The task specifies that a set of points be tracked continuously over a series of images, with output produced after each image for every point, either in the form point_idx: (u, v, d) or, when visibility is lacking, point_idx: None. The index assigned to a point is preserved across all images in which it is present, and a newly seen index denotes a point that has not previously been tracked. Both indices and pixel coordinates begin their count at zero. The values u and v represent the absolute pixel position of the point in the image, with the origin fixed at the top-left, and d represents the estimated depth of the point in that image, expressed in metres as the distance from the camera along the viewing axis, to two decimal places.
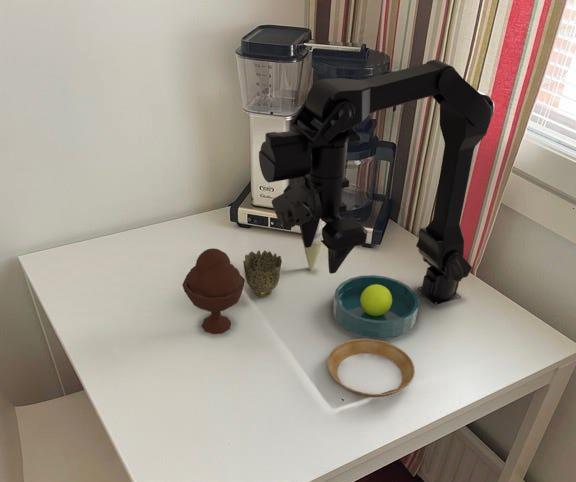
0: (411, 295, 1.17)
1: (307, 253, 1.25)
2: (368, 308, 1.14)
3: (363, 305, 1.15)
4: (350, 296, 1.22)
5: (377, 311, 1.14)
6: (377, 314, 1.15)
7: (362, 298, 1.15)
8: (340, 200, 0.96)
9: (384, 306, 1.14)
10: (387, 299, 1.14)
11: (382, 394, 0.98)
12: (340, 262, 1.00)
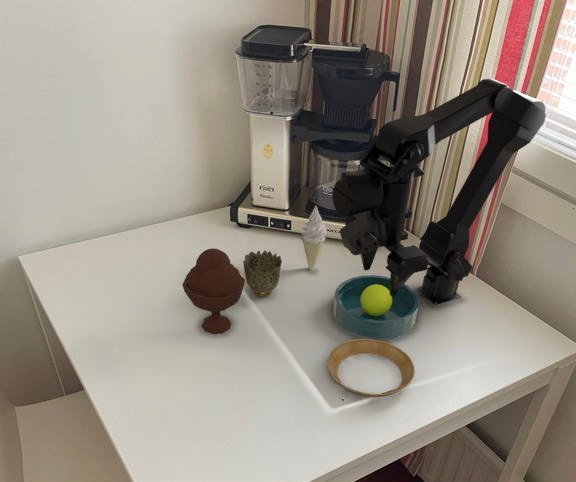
0: (411, 295, 1.17)
1: (307, 253, 1.25)
2: (368, 308, 1.14)
3: (363, 305, 1.15)
4: (350, 296, 1.22)
5: (377, 311, 1.14)
6: (377, 314, 1.15)
7: (362, 298, 1.15)
8: (403, 229, 1.04)
9: (384, 306, 1.14)
10: (387, 299, 1.14)
11: (382, 394, 0.98)
12: (401, 285, 1.08)
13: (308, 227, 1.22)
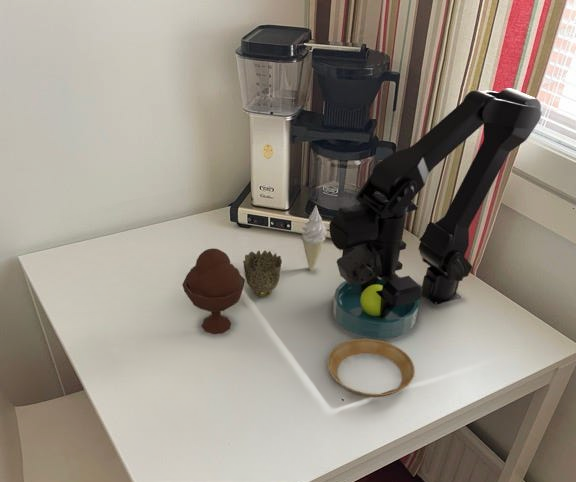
0: None
1: (307, 253, 1.25)
2: (368, 308, 1.14)
3: (363, 305, 1.15)
4: (350, 296, 1.22)
5: (377, 311, 1.14)
6: (377, 314, 1.15)
7: (362, 298, 1.15)
8: (397, 260, 1.09)
9: None
10: None
11: (382, 394, 0.98)
12: (391, 309, 1.13)
13: (308, 227, 1.22)
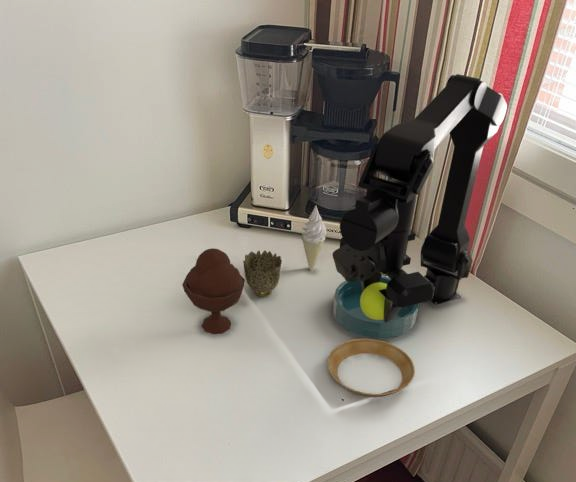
0: None
1: (307, 253, 1.25)
2: (369, 310, 0.97)
3: (363, 307, 0.97)
4: (350, 296, 1.22)
5: (379, 314, 0.96)
6: (380, 317, 0.97)
7: (362, 298, 0.97)
8: (405, 253, 0.91)
9: None
10: None
11: (382, 394, 0.98)
12: (396, 311, 0.96)
13: (308, 227, 1.22)
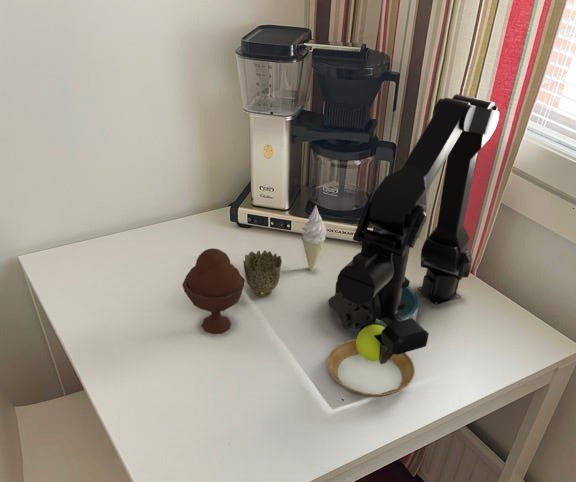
0: (411, 295, 1.17)
1: (307, 253, 1.25)
2: (364, 353, 0.99)
3: (359, 349, 0.99)
4: None
5: (375, 356, 0.98)
6: (375, 359, 0.99)
7: (358, 341, 0.99)
8: (399, 299, 0.93)
9: None
10: None
11: (382, 394, 0.98)
12: (391, 354, 0.98)
13: (308, 227, 1.22)
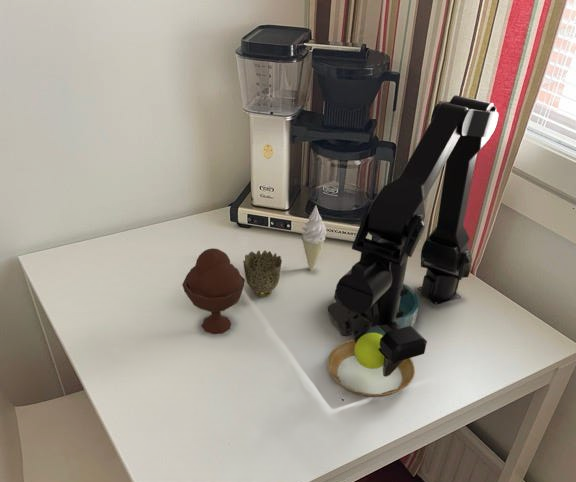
0: (411, 295, 1.17)
1: (307, 253, 1.25)
2: (363, 360, 1.00)
3: (358, 357, 1.00)
4: None
5: (373, 363, 0.99)
6: (374, 367, 1.00)
7: (356, 349, 1.00)
8: (397, 307, 0.94)
9: (381, 358, 0.99)
10: None
11: (382, 394, 0.98)
12: (395, 366, 0.98)
13: (308, 227, 1.22)
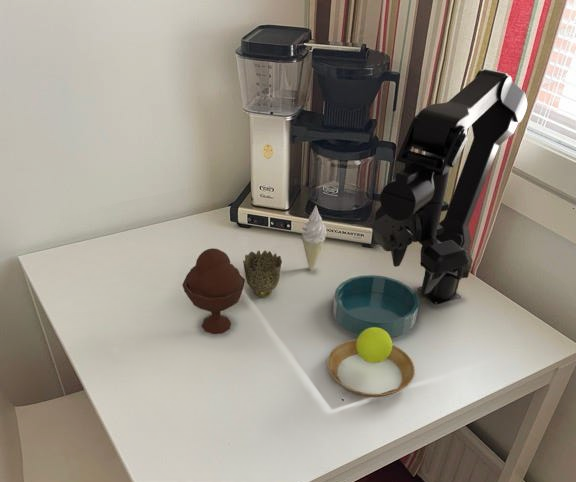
0: (411, 295, 1.17)
1: (307, 253, 1.25)
2: (366, 347, 1.00)
3: (361, 345, 1.01)
4: (350, 296, 1.22)
5: (376, 350, 1.00)
6: (376, 356, 1.00)
7: (359, 338, 1.01)
8: (438, 223, 0.98)
9: (384, 345, 1.00)
10: (388, 338, 1.01)
11: (382, 394, 0.98)
12: (435, 283, 1.02)
13: (308, 227, 1.22)
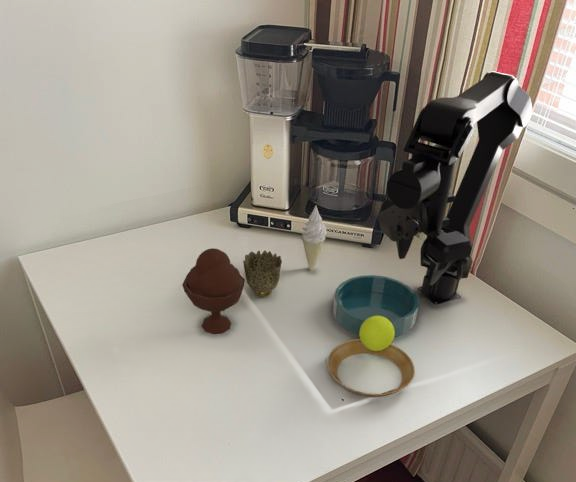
0: (411, 295, 1.17)
1: (307, 253, 1.25)
2: (372, 318, 1.03)
3: (366, 320, 1.04)
4: (350, 296, 1.22)
5: (382, 320, 1.03)
6: (382, 325, 1.02)
7: (364, 321, 1.05)
8: (444, 214, 1.00)
9: (389, 322, 1.04)
10: None
11: (382, 394, 0.98)
12: (440, 274, 1.03)
13: (308, 227, 1.22)
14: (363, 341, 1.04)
